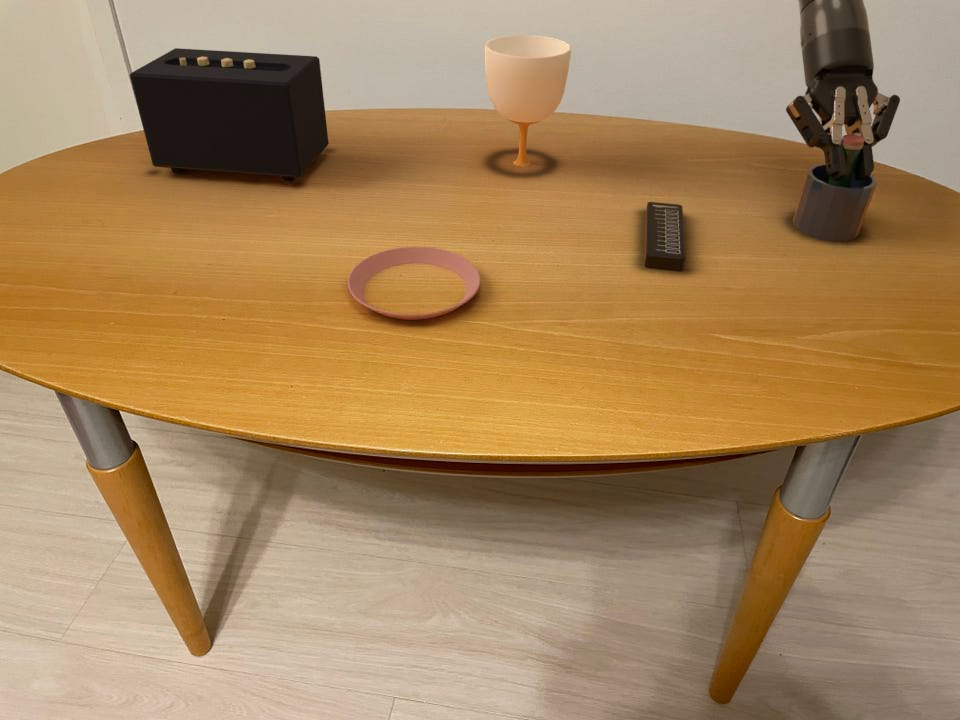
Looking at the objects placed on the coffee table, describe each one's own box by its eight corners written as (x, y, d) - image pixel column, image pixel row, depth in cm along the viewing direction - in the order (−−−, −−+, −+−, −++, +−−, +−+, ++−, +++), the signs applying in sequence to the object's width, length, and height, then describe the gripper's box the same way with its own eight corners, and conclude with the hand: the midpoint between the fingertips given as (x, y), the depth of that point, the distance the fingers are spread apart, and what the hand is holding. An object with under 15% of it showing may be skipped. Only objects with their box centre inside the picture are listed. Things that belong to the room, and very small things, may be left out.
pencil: (843, 198, 93) (864, 135, 88) (844, 206, 91) (865, 143, 86) (822, 195, 93) (842, 133, 89) (822, 203, 92) (843, 140, 87)
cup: (550, 188, 104) (561, 61, 94) (471, 176, 107) (472, 52, 96) (569, 157, 113) (580, 39, 103) (495, 147, 116) (498, 31, 105)
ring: (492, 323, 77) (493, 307, 76) (353, 337, 74) (352, 321, 73) (467, 256, 88) (467, 241, 87) (345, 267, 86) (343, 251, 84)
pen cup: (854, 223, 97) (874, 168, 92) (858, 250, 91) (879, 193, 86) (791, 213, 99) (807, 159, 94) (791, 239, 93) (808, 183, 88)
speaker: (330, 154, 113) (319, 50, 103) (302, 188, 102) (286, 77, 93) (195, 144, 115) (173, 41, 106) (154, 177, 105) (126, 67, 96)
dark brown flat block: (643, 272, 86) (646, 254, 84) (644, 217, 97) (647, 200, 96) (682, 276, 85) (685, 258, 84) (679, 220, 96) (682, 204, 95)
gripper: (795, 25, 86) (811, 167, 84) (909, 24, 87) (928, 165, 85) (766, 59, 94) (780, 191, 91) (871, 58, 95) (887, 188, 92)
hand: (851, 177), depth 88 cm, fingers closed on pencil, 2 cm apart
